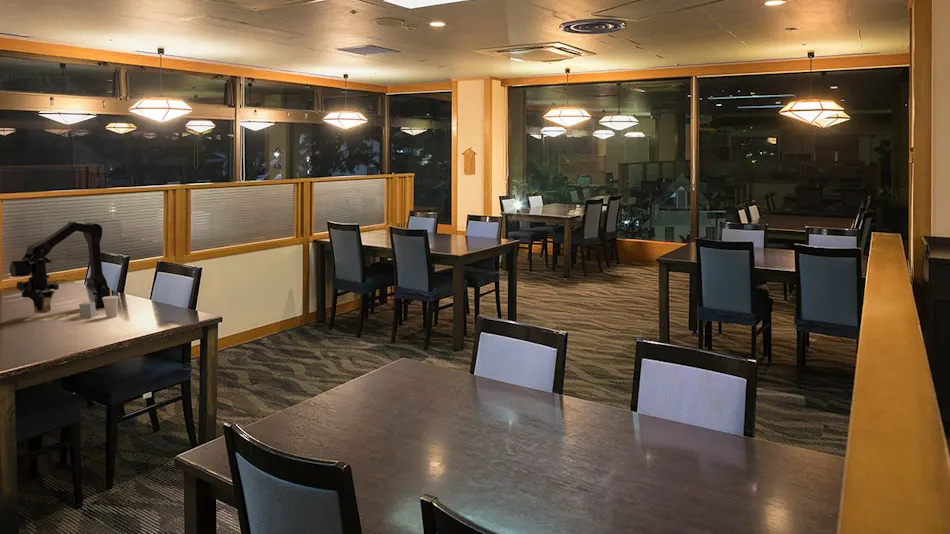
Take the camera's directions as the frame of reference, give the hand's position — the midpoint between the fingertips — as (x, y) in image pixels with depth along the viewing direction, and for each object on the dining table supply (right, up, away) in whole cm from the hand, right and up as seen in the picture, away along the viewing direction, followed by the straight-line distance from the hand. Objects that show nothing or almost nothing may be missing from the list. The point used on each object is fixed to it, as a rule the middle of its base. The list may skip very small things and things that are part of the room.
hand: (42, 309), depth 310 cm
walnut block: (0, -1, 0) cm, 1 cm away
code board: (+8, -4, +1) cm, 9 cm away
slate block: (+19, -3, +2) cm, 19 cm away
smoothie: (+29, -5, +2) cm, 30 cm away
